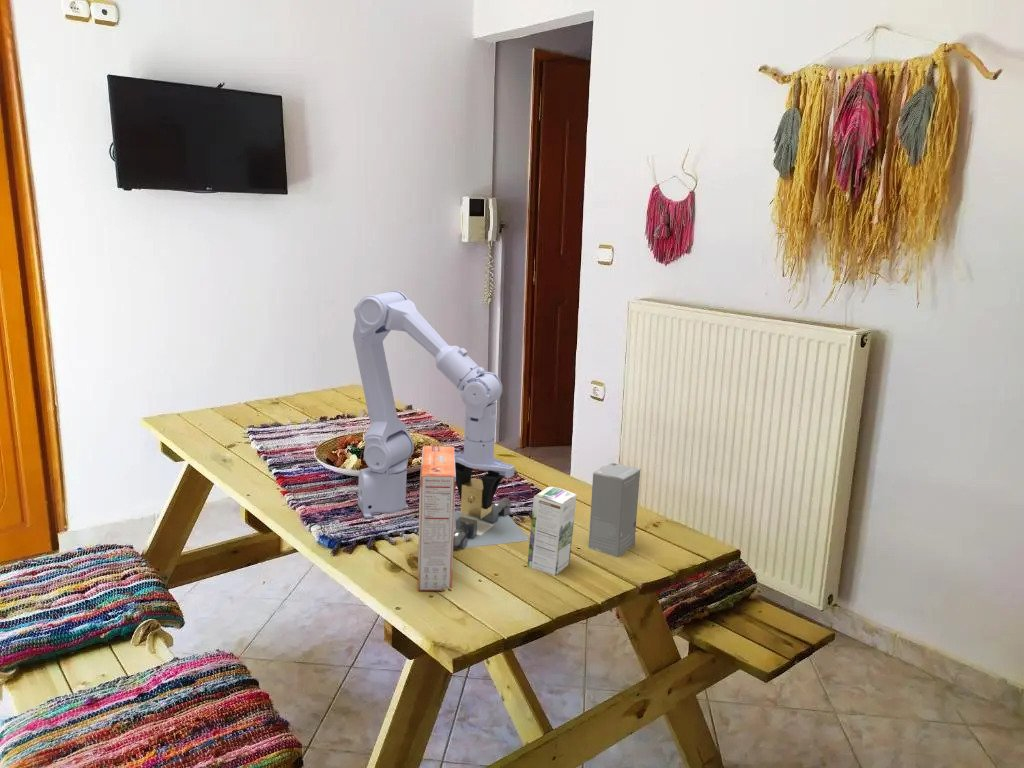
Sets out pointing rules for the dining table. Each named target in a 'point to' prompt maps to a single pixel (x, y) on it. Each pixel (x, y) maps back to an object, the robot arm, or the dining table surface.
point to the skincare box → (614, 509)
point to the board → (493, 531)
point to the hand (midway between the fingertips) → (475, 504)
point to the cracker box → (436, 518)
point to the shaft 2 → (498, 510)
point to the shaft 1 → (464, 532)
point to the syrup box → (551, 530)
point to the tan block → (473, 499)
